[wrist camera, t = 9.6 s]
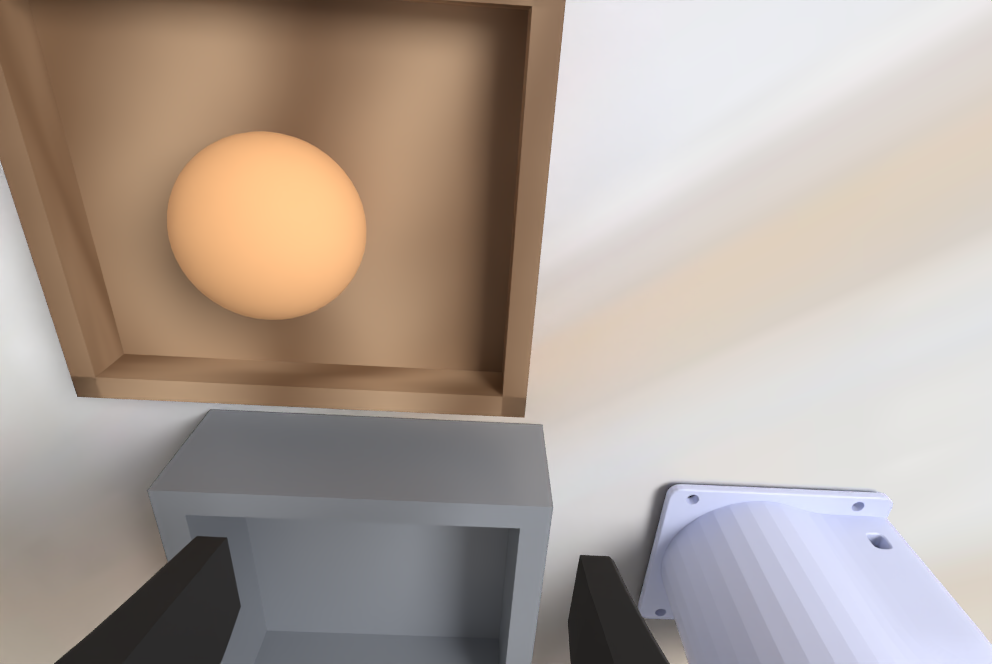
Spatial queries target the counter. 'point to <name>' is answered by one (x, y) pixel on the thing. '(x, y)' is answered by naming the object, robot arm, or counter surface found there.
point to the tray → (324, 124)
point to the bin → (368, 534)
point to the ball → (266, 225)
